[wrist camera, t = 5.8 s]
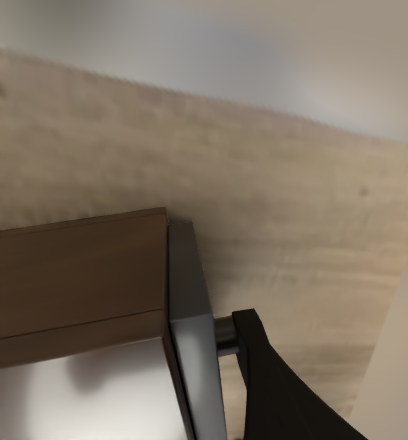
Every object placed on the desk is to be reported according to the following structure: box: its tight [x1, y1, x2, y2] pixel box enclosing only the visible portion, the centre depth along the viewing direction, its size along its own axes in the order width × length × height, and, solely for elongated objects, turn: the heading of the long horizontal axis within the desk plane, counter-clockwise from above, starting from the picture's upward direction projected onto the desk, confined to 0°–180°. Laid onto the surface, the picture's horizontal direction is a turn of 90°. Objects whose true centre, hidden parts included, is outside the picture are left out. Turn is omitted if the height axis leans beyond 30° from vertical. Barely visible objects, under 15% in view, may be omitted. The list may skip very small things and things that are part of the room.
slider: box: [168, 222, 239, 440], centre depth 10 cm, size 12×9×6 cm
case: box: [0, 207, 196, 440], centre depth 10 cm, size 12×11×8 cm
